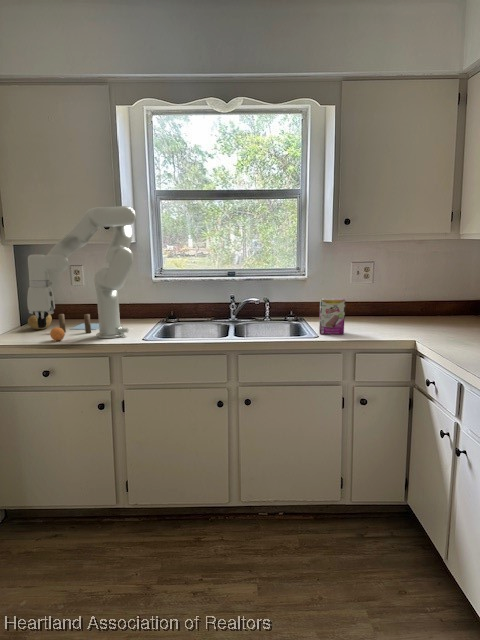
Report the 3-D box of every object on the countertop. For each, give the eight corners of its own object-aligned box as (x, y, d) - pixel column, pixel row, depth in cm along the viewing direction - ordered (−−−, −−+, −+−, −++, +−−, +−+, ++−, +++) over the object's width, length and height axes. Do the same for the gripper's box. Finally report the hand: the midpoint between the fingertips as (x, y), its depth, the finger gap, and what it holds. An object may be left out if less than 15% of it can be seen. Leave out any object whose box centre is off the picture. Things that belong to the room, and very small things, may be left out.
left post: (66, 331, 214) (65, 313, 212) (64, 333, 212) (62, 314, 210) (61, 331, 214) (60, 313, 213) (59, 332, 212) (57, 314, 210)
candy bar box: (319, 334, 201) (320, 299, 198) (318, 332, 206) (319, 298, 203) (344, 335, 200) (345, 299, 197) (342, 332, 205) (344, 298, 202)
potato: (58, 326, 228) (57, 311, 226) (41, 332, 214) (40, 316, 213) (41, 325, 229) (40, 310, 228) (24, 331, 216) (22, 315, 214)
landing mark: (107, 324, 232) (107, 323, 232) (95, 329, 218) (95, 329, 218) (82, 323, 233) (82, 323, 233) (69, 329, 220) (69, 328, 220)
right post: (92, 332, 212) (90, 314, 211) (89, 333, 210) (88, 315, 208) (87, 332, 213) (85, 314, 211) (84, 333, 210) (83, 315, 208)
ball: (67, 339, 199) (66, 326, 198) (60, 342, 193) (59, 329, 192) (55, 338, 200) (54, 325, 199) (48, 341, 194) (46, 328, 193)
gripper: (61, 284, 185) (63, 326, 188) (28, 283, 187) (31, 325, 190) (51, 285, 177) (53, 329, 181) (17, 284, 179) (20, 328, 182)
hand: (42, 327), depth 185 cm, fingers closed
